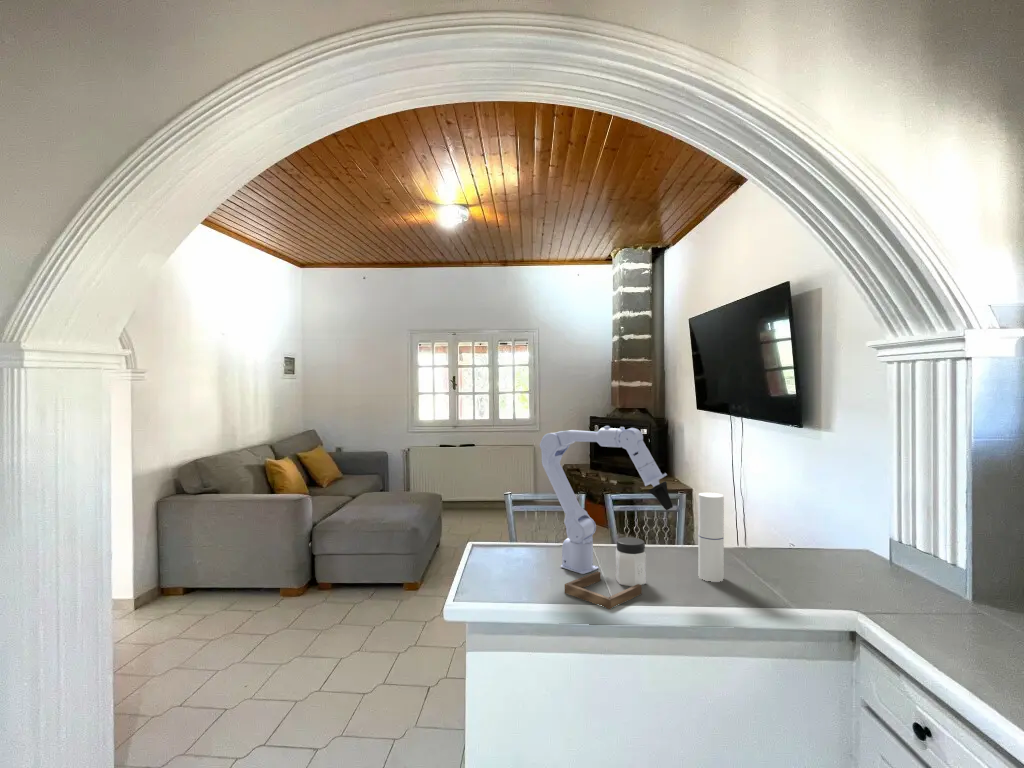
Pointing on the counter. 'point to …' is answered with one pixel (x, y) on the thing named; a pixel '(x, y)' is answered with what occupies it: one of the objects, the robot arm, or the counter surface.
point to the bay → (578, 591)
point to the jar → (630, 561)
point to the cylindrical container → (711, 537)
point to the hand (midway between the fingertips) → (669, 508)
